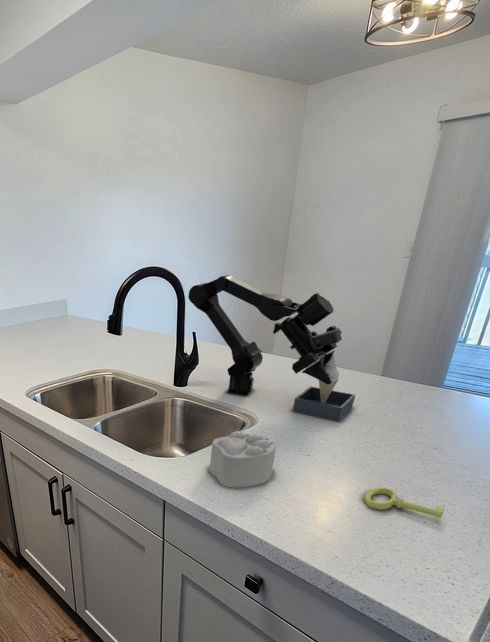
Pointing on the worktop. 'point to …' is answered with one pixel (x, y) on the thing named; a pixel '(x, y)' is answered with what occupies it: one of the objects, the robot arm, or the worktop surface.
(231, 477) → the lumpy-topped squat cylinder
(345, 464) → the worktop surface
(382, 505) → the key
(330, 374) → the ice cream cone
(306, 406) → the tub
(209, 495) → the worktop surface
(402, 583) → the worktop surface
